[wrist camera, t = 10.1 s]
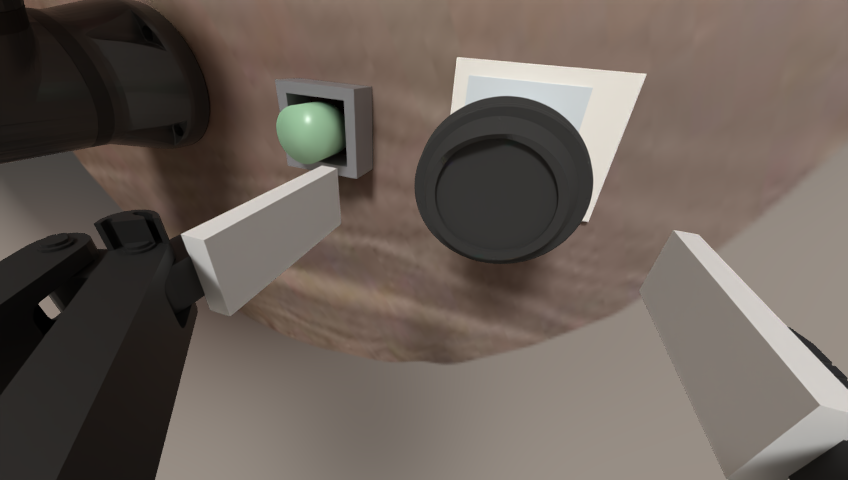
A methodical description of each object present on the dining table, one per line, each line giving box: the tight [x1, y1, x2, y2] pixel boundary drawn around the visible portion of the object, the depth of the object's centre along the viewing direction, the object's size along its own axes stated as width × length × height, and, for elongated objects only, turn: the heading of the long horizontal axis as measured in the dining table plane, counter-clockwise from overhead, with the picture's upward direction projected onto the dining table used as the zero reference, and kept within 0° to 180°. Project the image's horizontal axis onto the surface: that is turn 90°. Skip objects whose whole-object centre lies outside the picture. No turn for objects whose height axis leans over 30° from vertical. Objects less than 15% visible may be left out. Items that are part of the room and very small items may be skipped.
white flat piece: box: [451, 57, 646, 222], centre depth 27 cm, size 14×12×1 cm
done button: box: [276, 101, 346, 164], centre depth 29 cm, size 5×5×4 cm
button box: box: [275, 78, 373, 179], centre depth 31 cm, size 8×8×4 cm
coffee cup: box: [415, 96, 593, 264], centre depth 21 cm, size 9×9×15 cm
